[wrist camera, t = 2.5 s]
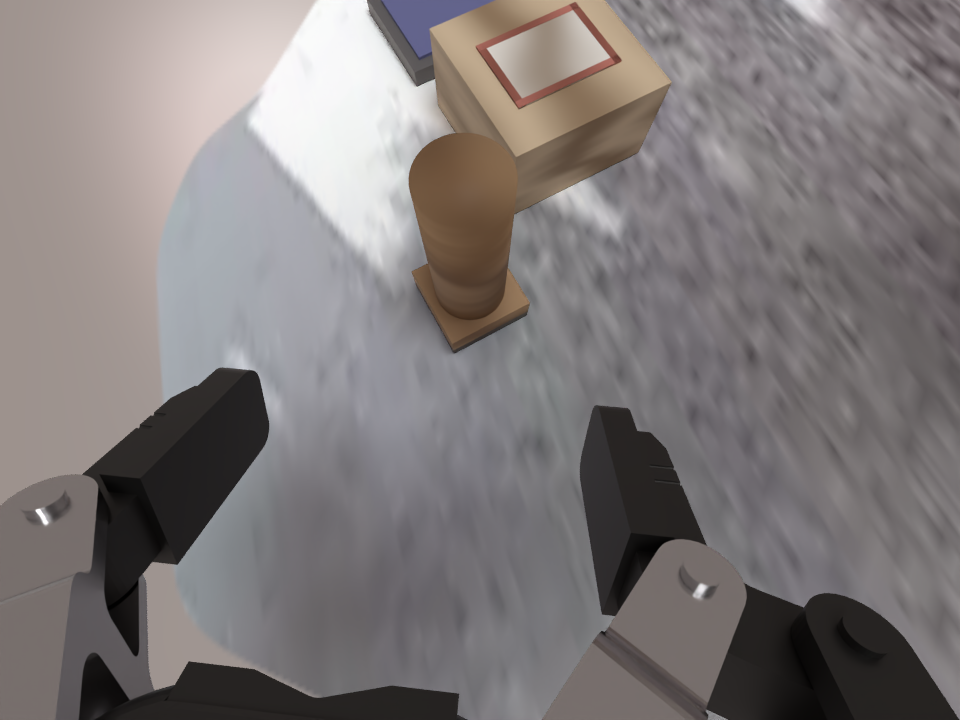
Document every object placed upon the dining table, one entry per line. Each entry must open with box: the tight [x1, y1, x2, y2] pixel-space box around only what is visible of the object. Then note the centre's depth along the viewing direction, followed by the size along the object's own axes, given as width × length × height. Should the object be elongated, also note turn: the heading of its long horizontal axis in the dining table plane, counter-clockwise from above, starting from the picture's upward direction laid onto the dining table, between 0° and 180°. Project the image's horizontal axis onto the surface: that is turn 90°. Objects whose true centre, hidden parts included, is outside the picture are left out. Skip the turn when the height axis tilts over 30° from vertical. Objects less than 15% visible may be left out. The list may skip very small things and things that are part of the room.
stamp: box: [409, 133, 530, 353], centre depth 20 cm, size 4×4×10 cm
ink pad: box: [367, 0, 495, 86], centre depth 29 cm, size 10×7×1 cm
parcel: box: [429, 0, 672, 214], centre depth 25 cm, size 9×9×5 cm
